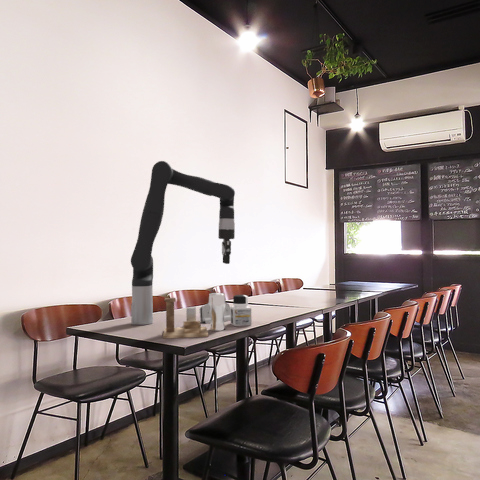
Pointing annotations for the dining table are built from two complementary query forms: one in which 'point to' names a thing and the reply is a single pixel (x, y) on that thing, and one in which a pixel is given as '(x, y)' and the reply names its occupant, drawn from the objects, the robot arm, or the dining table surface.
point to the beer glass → (217, 311)
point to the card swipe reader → (207, 318)
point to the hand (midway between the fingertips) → (226, 263)
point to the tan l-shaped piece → (188, 326)
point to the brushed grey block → (191, 313)
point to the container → (240, 311)
